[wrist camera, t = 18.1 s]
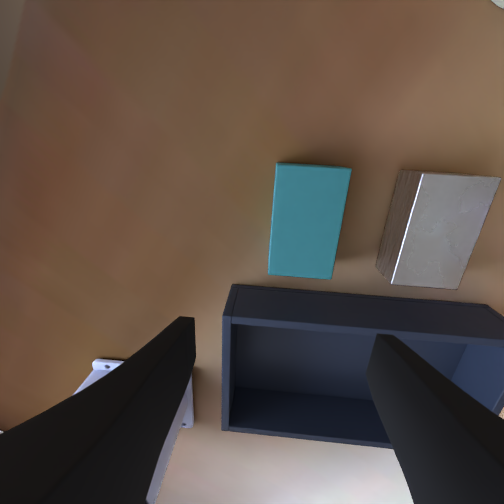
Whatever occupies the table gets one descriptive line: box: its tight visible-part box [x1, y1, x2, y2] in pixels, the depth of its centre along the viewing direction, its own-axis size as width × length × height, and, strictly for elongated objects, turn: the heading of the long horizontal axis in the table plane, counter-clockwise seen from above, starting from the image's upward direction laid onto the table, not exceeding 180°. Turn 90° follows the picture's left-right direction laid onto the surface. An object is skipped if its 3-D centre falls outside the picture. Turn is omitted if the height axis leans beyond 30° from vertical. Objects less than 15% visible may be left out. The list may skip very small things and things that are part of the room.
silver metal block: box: [375, 170, 501, 290], centre depth 17 cm, size 4×7×3 cm, turn 177°
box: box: [221, 284, 504, 449], centre depth 20 cm, size 20×11×4 cm, turn 87°
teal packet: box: [268, 162, 352, 280], centre depth 17 cm, size 4×7×3 cm, turn 177°
